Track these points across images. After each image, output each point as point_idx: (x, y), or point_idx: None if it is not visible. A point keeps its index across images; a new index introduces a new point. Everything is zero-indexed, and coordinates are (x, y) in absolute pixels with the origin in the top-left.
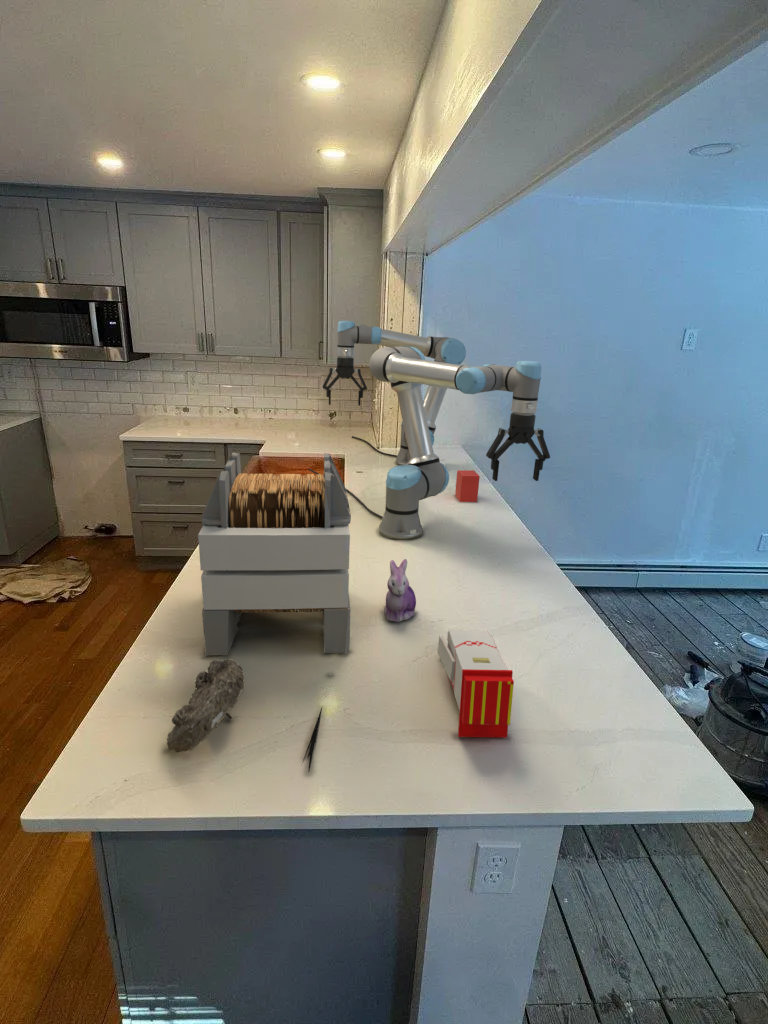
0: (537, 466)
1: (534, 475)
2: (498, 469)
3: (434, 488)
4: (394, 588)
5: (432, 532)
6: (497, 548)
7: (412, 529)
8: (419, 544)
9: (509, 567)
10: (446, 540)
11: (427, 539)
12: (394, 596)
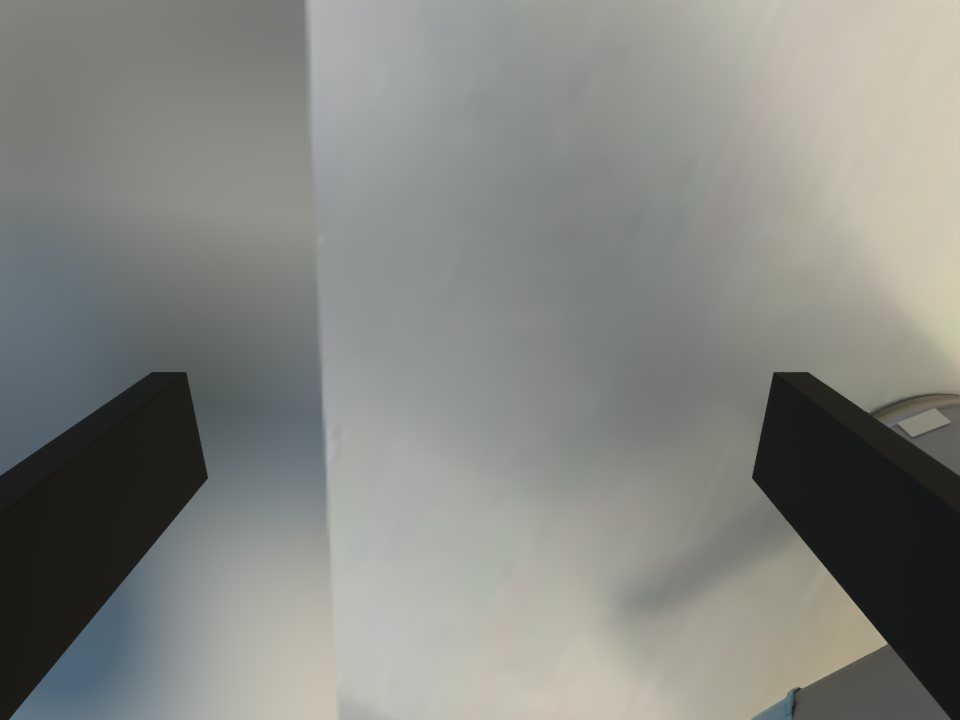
0: (28, 517)
1: (170, 471)
2: (893, 464)
3: (889, 695)
4: None
5: None
6: (513, 286)
7: (935, 431)
8: (887, 348)
9: (537, 32)
10: (733, 390)
11: None
12: None
